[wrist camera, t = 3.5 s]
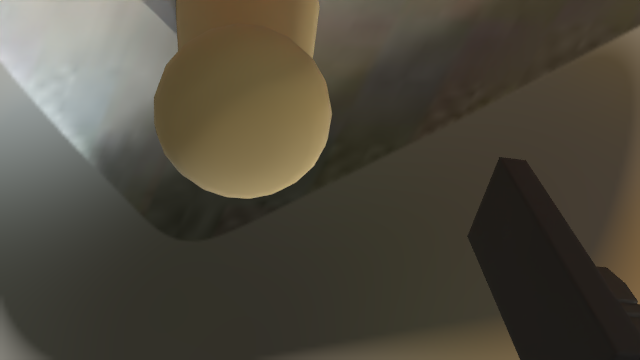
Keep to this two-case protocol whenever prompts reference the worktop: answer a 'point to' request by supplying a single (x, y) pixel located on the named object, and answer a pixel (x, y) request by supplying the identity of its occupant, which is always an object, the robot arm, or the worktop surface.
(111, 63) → the worktop surface
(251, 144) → the cork
